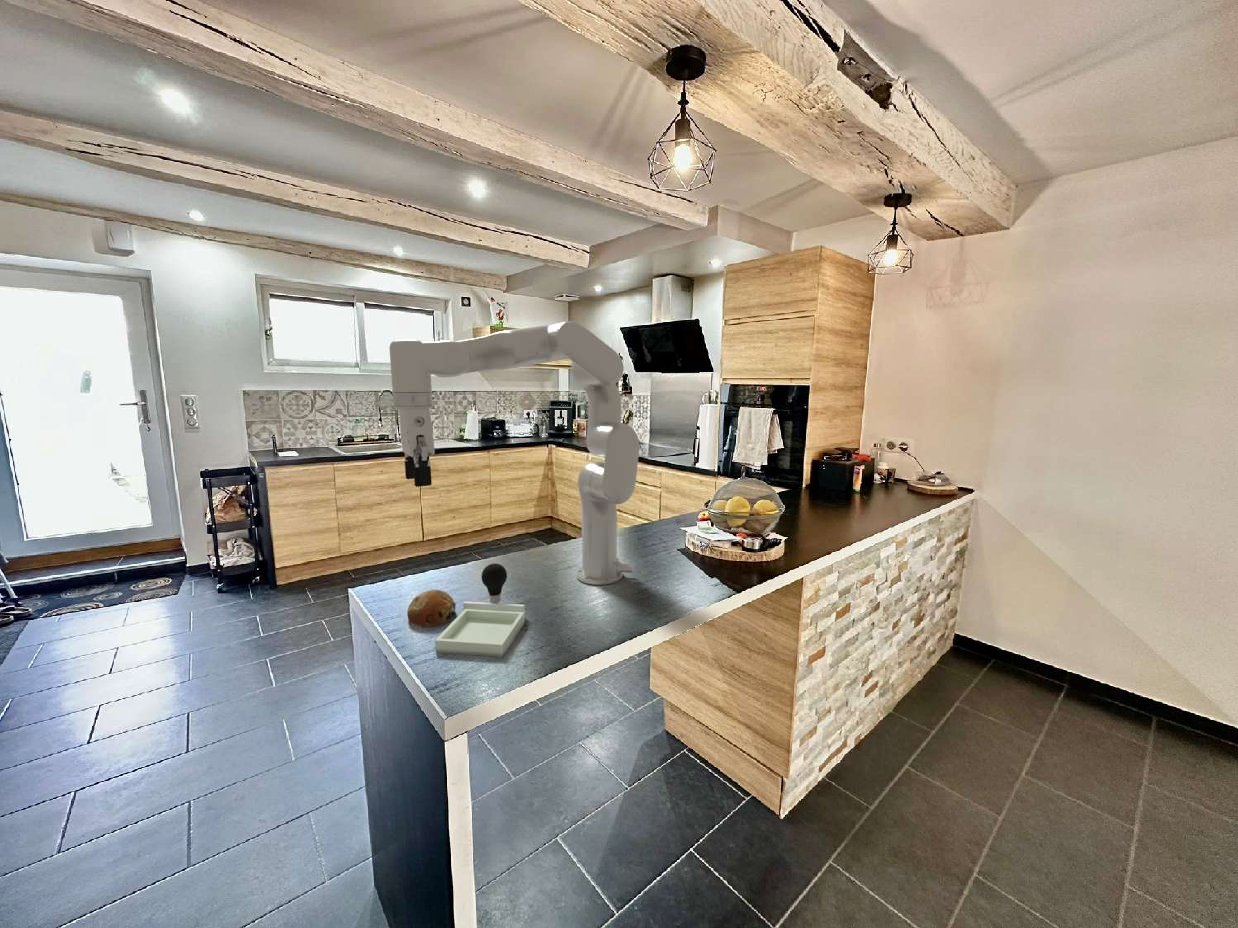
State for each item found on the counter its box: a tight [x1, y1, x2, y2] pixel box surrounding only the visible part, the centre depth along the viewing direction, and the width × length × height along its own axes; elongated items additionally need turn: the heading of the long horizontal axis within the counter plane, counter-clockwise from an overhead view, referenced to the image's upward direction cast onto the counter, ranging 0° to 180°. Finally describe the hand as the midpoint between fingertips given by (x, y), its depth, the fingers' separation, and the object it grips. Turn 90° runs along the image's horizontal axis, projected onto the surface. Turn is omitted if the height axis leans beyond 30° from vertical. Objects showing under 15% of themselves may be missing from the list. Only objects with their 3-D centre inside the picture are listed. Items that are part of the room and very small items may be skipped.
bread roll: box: [406, 589, 457, 628], centre depth 109 cm, size 10×10×8 cm
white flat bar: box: [462, 601, 526, 618], centre depth 109 cm, size 14×1×3 cm, turn 83°
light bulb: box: [481, 563, 508, 603], centre depth 115 cm, size 6×6×10 cm
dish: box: [434, 608, 526, 658], centre depth 100 cm, size 14×14×2 cm
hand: (418, 482), depth 103 cm, fingers open, 9 cm apart
